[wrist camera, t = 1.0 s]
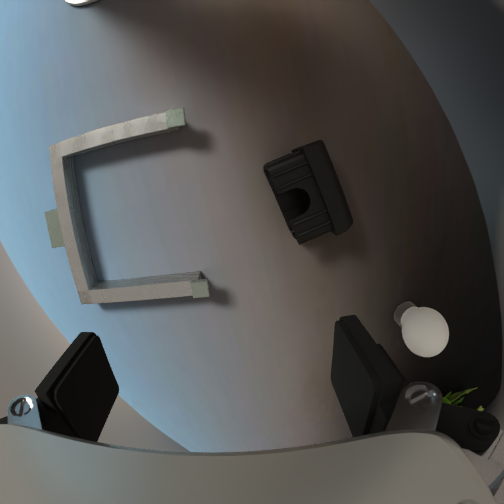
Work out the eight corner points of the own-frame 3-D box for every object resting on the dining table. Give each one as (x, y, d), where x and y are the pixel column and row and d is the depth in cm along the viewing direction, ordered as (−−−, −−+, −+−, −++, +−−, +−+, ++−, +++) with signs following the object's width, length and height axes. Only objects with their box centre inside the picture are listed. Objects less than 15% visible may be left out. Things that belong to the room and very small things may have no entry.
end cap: (341, 214, 36) (361, 225, 30) (291, 236, 37) (303, 251, 30) (312, 141, 33) (329, 137, 27) (260, 163, 34) (265, 162, 28)
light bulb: (391, 335, 42) (422, 375, 32) (382, 305, 40) (417, 344, 30) (423, 315, 42) (459, 350, 31) (417, 284, 40) (457, 316, 29)
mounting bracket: (48, 150, 31) (33, 151, 28) (188, 113, 32) (182, 107, 28) (78, 296, 38) (66, 307, 34) (211, 284, 38) (209, 296, 34)
